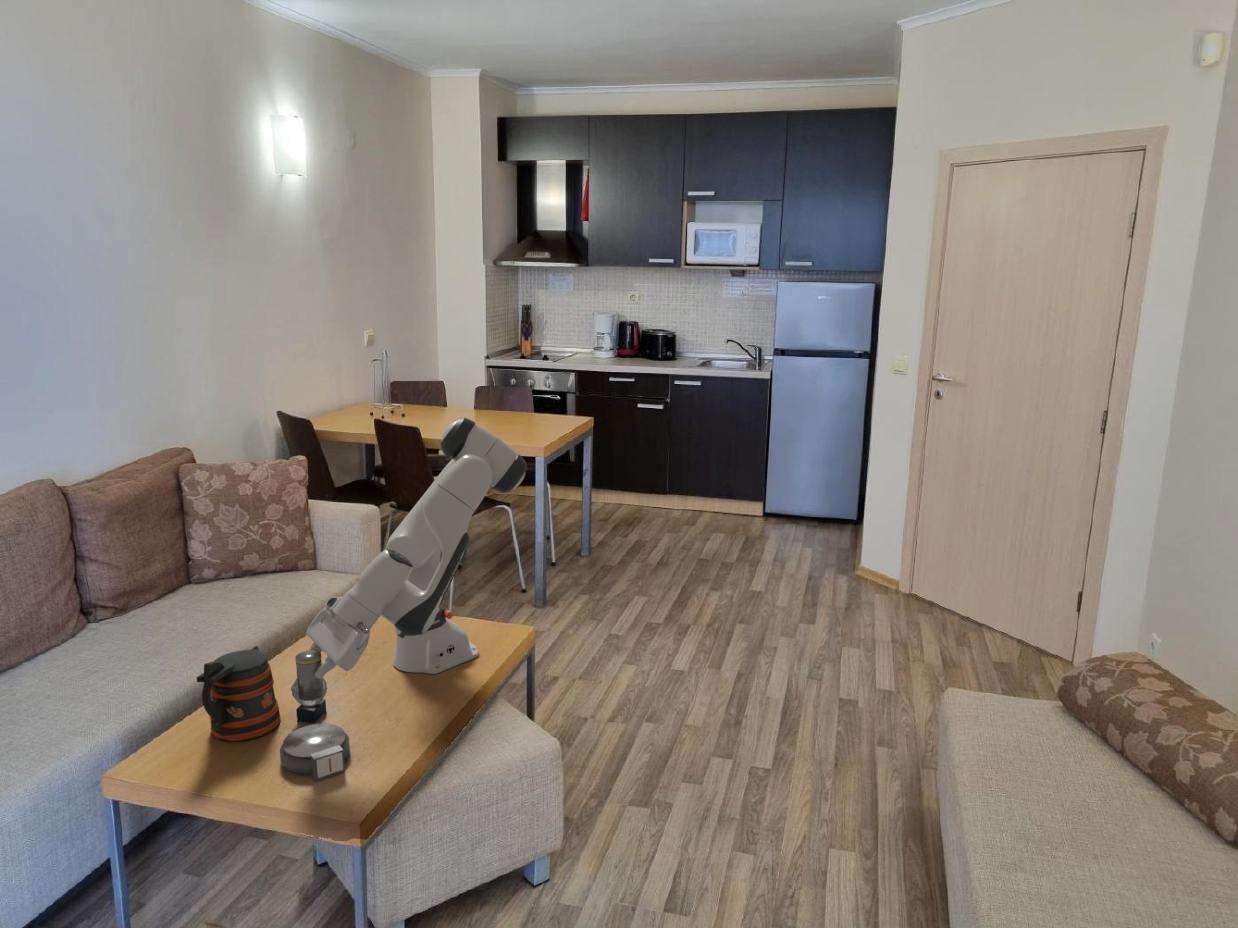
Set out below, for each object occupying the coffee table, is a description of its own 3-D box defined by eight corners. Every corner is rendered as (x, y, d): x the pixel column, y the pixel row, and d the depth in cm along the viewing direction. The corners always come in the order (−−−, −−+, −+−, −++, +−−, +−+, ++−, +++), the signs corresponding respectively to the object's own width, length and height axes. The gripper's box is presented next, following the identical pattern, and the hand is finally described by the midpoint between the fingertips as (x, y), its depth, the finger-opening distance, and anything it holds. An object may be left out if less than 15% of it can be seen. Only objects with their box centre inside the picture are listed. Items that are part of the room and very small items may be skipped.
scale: (336, 733, 197) (335, 713, 196) (364, 765, 185) (362, 744, 183) (272, 753, 189) (270, 732, 188) (296, 788, 176) (294, 766, 175)
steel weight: (319, 686, 188) (316, 648, 186) (327, 696, 184) (324, 656, 182) (295, 693, 185) (292, 654, 183) (303, 703, 181) (299, 662, 179)
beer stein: (245, 756, 188) (236, 670, 183) (184, 749, 190) (174, 665, 186) (292, 713, 206) (286, 634, 202) (236, 707, 209) (228, 629, 204)
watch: (301, 709, 208) (298, 666, 206) (333, 712, 207) (330, 669, 204) (289, 720, 203) (285, 677, 200) (321, 723, 201) (317, 679, 199)
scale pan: (333, 721, 196) (333, 717, 195) (354, 745, 186) (354, 741, 186) (275, 738, 188) (275, 735, 188) (294, 764, 178) (293, 761, 178)
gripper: (383, 639, 181) (340, 696, 177) (347, 609, 197) (307, 660, 193) (361, 624, 177) (316, 682, 174) (326, 594, 193) (284, 647, 189)
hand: (311, 670), depth 183 cm, fingers closed on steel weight, 5 cm apart
